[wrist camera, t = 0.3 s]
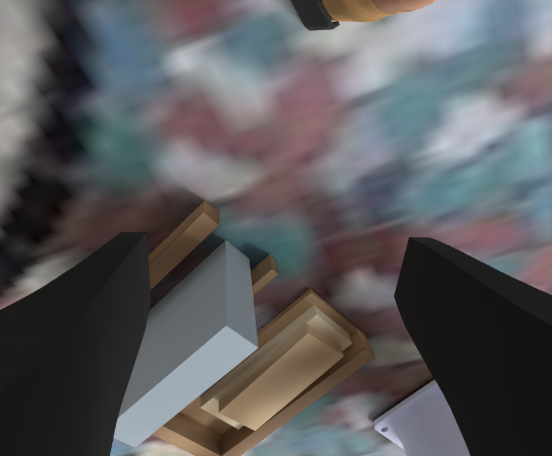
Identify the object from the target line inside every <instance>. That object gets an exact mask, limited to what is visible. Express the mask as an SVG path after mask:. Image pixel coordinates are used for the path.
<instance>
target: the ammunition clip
mask: <svg viewBox="0 0 552 456" xmlns="http://www.w3.org/2000/svg"><path fill="white" fill-rule="evenodd" d="M291 1H292V3H293V5H294V7H295V9H296V10H297V12H298V14H299V16H300V18H301V20H302V22H303V24H304V26H305V27H306V28H307V29H308V30H310V31H311V30H330V29H334V28H336V27H337V26H339V25H340V24H339V22H338V21H349V22H373V21H377V20H379V19H382V18H384V17H386V16H388V15H393V14H397V13H399V12H410V11H414V10H417V9H420V8H423V7H425V6H427V5H429V4H431V3H434V2H435V1H437V0H291ZM332 21H336V22H332Z"/></svg>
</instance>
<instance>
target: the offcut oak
mask: <svg viewBox="0 0 552 456" xmlns="http://www.w3.org/2000/svg"><path fill="white" fill-rule="evenodd" d="M342 357H344V355H343V352H342V349H341V346H340V345H339V344H337V343H336V342H334V341H333V340H331V339H330V338H328V337H327V336H325V335H324V334H322V333H321V332H319V331H318V330H316V329H315V328H313V327H312V326H310V325H309V324H308V323H306V322H305V323H304V324H303V325H302V326H301V327H300V328H299V329H298V330H296V331H295V332H294V333H293V334H292V335H291V336H290V337H289V338H288V339H286V340H285V341H284V342H283V343H282V344H281V345H280V346H279V347H278V348H277V349H275V350H274V351H273V352H272V353H271V354H270V355H269V356H268V357H267V358H265V359H264V360H263V361H262V362H261V363H260V364H259V365H258V366H257V367H256V368H254V369H253V370H252V371H251V372H250V373H249V374H248V375H247V376H246V377H245V378H243V379H242V380H241V381H240V382H239V383H238V384H237V385H236V386H235V387H233V388H232V389H231V390H230V391H229V392H228V393H227V394H226V395H225V396H224V397H222V398H221V399H220V400H219V413H220V414H222V415H224V416H226V417H228V418H230V419H232V420H234V421H236V422H238V423H240V424H242V425H244V426H246V427H248V428H250V429H252V430H254V431H256V430H257V429H258V428H259V427H260V426H262V425H263V424H264V423H265V422H266V421H268V420H269V419H270V418H271V417H272V416H273V415H275V414H276V413H277V412H278V411H279V410H281V409H282V408H283V407H284V406H285V405H287V404H288V403H289V402H290V401H291V400H292V399H294V398H295V397H296V396H297V395H298V394H300V393H301V392H302V391H303V390H304V389H306V388H307V387H308V386H309V385H310V384H312V383H313V382H314V381H315V380H316V379H317V378H319V377H320V376H321V375H322V374H323V373H325V372H326V371H327V370H328V369H329V368H331V367H332V366H333V365H334V364H335V363H336V362H338V361H339V360H340V359H341V358H342Z"/></svg>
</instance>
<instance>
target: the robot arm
mask: <svg viewBox="0 0 552 456" xmlns="http://www.w3.org/2000/svg"><path fill="white" fill-rule="evenodd" d="M394 298H395V301H396V303H397V306H398V309H399V312H400V315H401V317H402V320H403V322H404V325H405V327H406V329H407V331H408V332H409V334H410V336H411V338H412V340H413V342H414V343H415V345H416V347H417V349H418V351H419V352H420V354H421V356H422V358H423V359H424V361H425V363H426V365H427V367H428V368H429V370H430V372H431V374H432V375H433V377H434V380H433V381H431V382H430V383H428V384H427V385H426V386H424V387H423V388H421V389H420V390H418V391H417V392H415V393H414V394H412V395H411V396H409V397H408V398H406V399H405V400H404V401H402V402H401V403H399V404H398V405H396V406H395V407H393V408H392V409H390V410H389V411H387V412H386V413H384V414H383V415H382V416H380V417H379V418H377V419H376V420H375V421H374V422H373V426H374V429H375V430H376V431H378V432H379V433H381V434H382V435H384V436H385V437H387V438H388V439H389V440H391V441H392V442H394V443H395V444H397V445H398V446H399V447H401V448H402V449H404V450H405V453H406V455H407V456H552V295H550V294H548V293H546V292H543V291H541V290H539V289H536V288H534V287H532V286H530V285H528V284H526V283H523V282H521V281H519V280H517V279H515V278H513V277H511V276H509V275H507V274H504V273H502V272H500V271H498V270H496V269H494V268H492V267H490V266H489V265H487V264H485V263H483V262H481V261H479V260H477V259H475V258H473V257H471V256H469V255H467V254H465V253H463V252H461V251H459V250H457V249H455V248H453V247H451V246H449V245H447V244H445V243H442V242H440V241H438V240H435V239H432V238H421V237H409V240H408V244H407V248H406V252H405V256H404V259H403V263H402V267H401V271H400V275H399V279H398V283H397V287H396V291H395V295H394ZM150 301H151V287H150V273H149V259H148V246H147V233H142V232H122V233H120V234H119V235H117V236H116V237H114V238H113V239H111V240H110V241H109V242H107V243H106V244H105V245H103V246H102V247H101V248H99V249H98V250H97V251H95V252H94V253H92V254H91V255H90V256H88V257H87V258H86V259H84V260H83V261H81V262H80V263H79V264H77V265H76V266H74V267H73V268H71V269H70V270H68V271H67V272H65V273H64V274H62V275H60V276H59V277H57V278H56V279H54V280H53V281H51V282H50V283H48V284H47V285H45V286H43V287H42V288H40V289H38V290H37V291H35V292H33V293H31V294H30V295H28V296H26V297H24V298H22V299H20V300H19V301H17V302H15V303H13V304H11V305H9V306H7V307H5V308H3V309H1V310H0V456H110V452H111V447H112V442H113V438H114V433H115V428H116V423H117V420H118V416H119V412H120V409H121V405H122V402H123V399H124V396H125V392H126V389H127V386H128V383H129V380H130V377H131V374H132V371H133V368H134V365H135V361H136V358H137V355H138V352H139V349H140V346H141V343H142V339H143V336H144V333H145V330H146V324H147V319H148V313H149V307H150Z"/></svg>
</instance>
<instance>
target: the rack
mask: <svg viewBox="0 0 552 456" xmlns="http://www.w3.org/2000/svg"><path fill="white" fill-rule="evenodd" d="M218 226H219V211H217V210H216V209H215V208H214V207H213V206H211V205H210V204H209V203H208V202H207V201H205V200H204V201H203V202H202V203H201V204H200V205H199V206H198V207H197V208H196V209H195V210H194V211H193V212H192V213H191V214H190V215H189V216H188V217H187V218H186V219H185V220H184V221H183V222H182V223H181V224H180V225H179V226H178V227H177V228H176V229H175V230H174V231H173V232H172V233H171V234H170V235H169V236H168V237H167V238H166V239H165V240H164V241H163V242H162V243H161V244H160V245H159V246H158V247H157V248H156V249H155V250H153V251H152V252H151V253H150V254H149V255H148V259H149V273H150V287H151V289H152V288H153V287H154V286H155V285H156V284H157V283H158V282H160V281H161V280H162V279H163V278H164V277H165V276H166V275H167V274H168V273H169V272H170V271H171V270H172V269H173V268H174V267H175V266H176V265H177V264H179V263H180V262H181V261H182V260H183V259H184V258H185V257H186V256H187V255H188V254H189V253H190V252H191V251H192V250H193V249H194V248H195V247H196V246H198V245H199V244H200V243H201V242H202V241H203V240H204V239H205V238H206V237H207V236H208V235H209V234H210V233H211V232H212V231H213V230H214V229H215V228H217V227H218ZM278 274H279V273H278V269H277V264H276V259H274V258H273V257H272V256H271V255H270V254H269V255H268V256H267V257H266V258H265V259H264V260H262V261H261V262H260V263H259V264H258V265H257V266H256V267H255V268H253V269H252V270H251V281H252V291H253V296H254V295H255V294H256V293H257V292H259V291H260V290H261V289H262V288H263V287H264V286H266V285H267V284H268V283H269V282H270V281H271V280H273V279H274V278H275V277H276V276H277V275H278ZM313 305H315V306H316V307H317V308H318V309H319V310H321V311H322V312H323V313H324V314H326V315H327V316H328V317H329V318H330V319H332V320H333V321H334V322H335V323H337V324H338V325H339V326H340V327H341V328H343V329H344V330H345V331H346V332H348V333H349V336H350V338H351V341H352V343H353V344H351V345H350V346H349V347H347V348H346V349H345V350H343V351H342V352H343V355H344V357H342V358H341V359H340V360H339V361H338V362H336V363H335V364H334V365H333V366H332V367H331V368H329V369H328V370H327V371H326V372H325V373H323V374H322V375H321V376H320V377H319V378H317V379H316V380H315V381H314V382H313V383H312V384H310V385H309V386H308V387H307V388H306V389H304V390H303V391H302V392H301V393H300V394H298V395H297V396H296V397H295V398H294V399H292V400H291V401H290V402H289V403H288V404H287V405H285V406H284V407H283V408H282V409H281V410H279V411H278V412H277V413H276V414H275V415H273V416H272V417H271V418H270V419H269V420H268V421H266V422H265V423H264V424H263V425H262V426H260V427H259V428H258V429H257V430H256V431H254V430H252V429H250V428H248V427H246V426H243V427H241V428H240V429H237V428H235V427H233V426H232V425H230V424H228V423H226V422H224V421H223V420H221V419H219V418H217V417H216V416H214V415H212V414H210V413H209V412H207V411H205V410H203V409H201V408H200V403H201V396H202V395H203V394H204V393H205V392H207V391H208V390H209V389H210V388H212V387H213V386H214V385H215V384H217V383H218V382H219V381H220V380H222V379H223V378H224V377H225V376H226V375H228V374H229V373H230V372H231V371H233V370H234V369H235V368H236V367H238V366H239V365H240V364H241V363H243V362H244V361H245V360H246V359H247V358H249V357H250V356H251V355H252V354H254V353H255V352H256V351H257V350H259V349H260V348H261V347H262V346H264V345H265V344H266V343H267V342H268V341H270V340H271V339H272V338H273V337H275V336H276V335H277V334H278V333H280V332H281V331H282V330H283V329H285V328H286V327H287V326H288V325H289V324H291V323H292V322H293V321H294V320H296V319H297V318H298V317H299V316H301V315H302V314H303V313H304V312H306V311H307V310H308V309H309V308H311V307H312V306H313ZM257 340H258V349H256V350H255V351H254V352H253V353H251V354H250V355H249V356H248V357H247V358H245V359H244V360H243V361H242V362H240V363H239V364H238V365H237V366H235V367H234V368H233V369H232V370H230V371H229V372H228V373H227V374H226V375H224V376H223V377H222V378H221V379H219V380H218V381H217V382H216V383H214V384H213V385H212V386H211V387H210V388H208V389H207V390H206V391H205V392H203V393H202V394H201V395H200V396H198V397H197V398H196V399H195V400H193V401H192V402H191V403H190V404H189V405H187V406H186V407H185V408H184V409H182V410H181V411H180V412H179V413H177V414H176V415H175V416H174V417H172V418H171V419H170V420H169V421H168V422H166V423H165V424H164V425H163V426H161V427H160V428H159V429H158V430H156V431H155V432H154V433H153V435H155V436H157V437H159V438H161V439H163V440H165V441H167V442H169V443H171V444H173V445H175V446H177V447H179V448H181V449H183V450H185V451H187V452H189V453H191V454H193V455H195V456H241V455H242V454H244V453H245V452H246V451H248V450H249V449H250V448H252V447H253V446H255V445H256V444H257V443H259V442H260V441H261V440H263V439H264V438H266V437H267V436H268V435H270V434H271V433H272V432H274V431H275V430H276V429H278V428H279V427H281V426H282V425H283V424H285V423H286V422H287V421H289V420H290V419H292V418H293V417H294V416H296V415H297V414H298V413H300V412H301V411H303V410H304V409H305V408H307V407H308V406H309V405H311V404H312V403H313V402H315V401H316V400H318V399H319V398H320V397H322V396H323V395H324V394H326V393H327V392H329V391H330V390H331V389H333V388H334V387H335V386H337V385H338V384H339V383H341V382H342V381H344V380H345V379H346V378H348V377H349V376H350V375H352V374H353V373H355V372H356V371H357V370H359V369H360V368H361V367H363V366H364V365H366V364H367V363H368V362H370V361H371V360H372V359H374V358H375V356H374V354H373V352H372V349H371V347H370V345H369V342H368V340H367V338H366V336H365V334H364V333H362V332H361V331H360V330H359V329H358V328H356V327H355V326H354V325H353V324H352V323H351V322H349V321H348V320H347V319H346V318H345V317H343V316H342V315H341V314H340V313H339V312H337V311H336V310H335V309H334V308H333V307H332V306H330V305H329V304H328V303H327V302H326V301H324V300H323V299H322V298H321V297H320V296H318V295H317V294H316V293H315V292H314V291H312V290H311V289H309V290H308V291H306V292H305V293H304V294H303V295H302V296H300V297H299V298H298V299H297V300H295V301H294V302H293V303H292V304H291V305H289V306H288V307H287V308H286V309H285V310H283V311H282V312H281V313H280V314H278V315H277V316H276V317H275V318H274V319H272V320H271V321H270V322H269V323H268V324H266V325H265V326H264V327H263V328H262V329H260V330H259V331H258V332H257Z"/></svg>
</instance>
